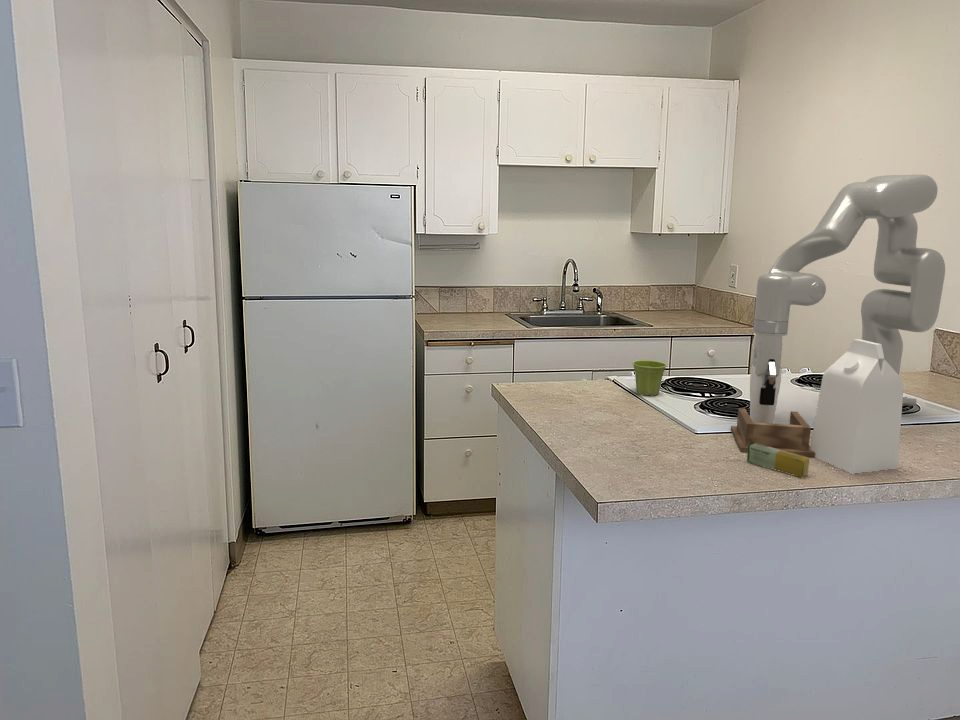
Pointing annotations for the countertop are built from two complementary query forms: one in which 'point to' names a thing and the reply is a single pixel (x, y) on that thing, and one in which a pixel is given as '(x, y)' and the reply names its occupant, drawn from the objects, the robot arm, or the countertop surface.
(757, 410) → the drinking glass
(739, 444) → the wooden open tray
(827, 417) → the milk
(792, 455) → the medication box
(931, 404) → the countertop surface
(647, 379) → the plant pot
